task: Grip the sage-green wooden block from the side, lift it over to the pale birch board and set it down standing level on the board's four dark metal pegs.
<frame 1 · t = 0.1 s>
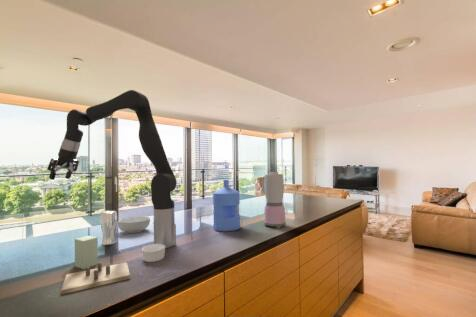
hand: (59, 178, 119), 31 cm above the counter, tool tilted 20°, fingers open, 8 cm apart
peg board: (97, 278, 77), on the counter
ramekin: (153, 258, 93), on the counter
water jug: (226, 228, 137), on the counter
cereal bowl: (134, 231, 134), on the counter
green block: (86, 265, 88), on the counter
beer glass: (109, 243, 113), on the counter
blender: (273, 225, 141), on the counter
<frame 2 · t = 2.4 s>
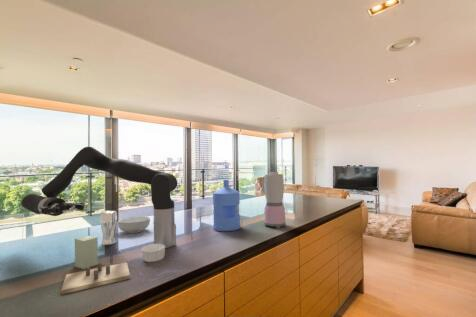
hand: (71, 209, 94), 20 cm above the counter, tool horizontal, fingers open, 8 cm apart
nothing on the counter moved.
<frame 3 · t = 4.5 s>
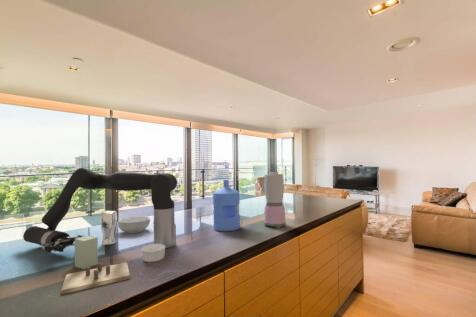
hand: (75, 245, 92), 6 cm above the counter, tool horizontal, fingers open, 8 cm apart
nothing on the counter moved.
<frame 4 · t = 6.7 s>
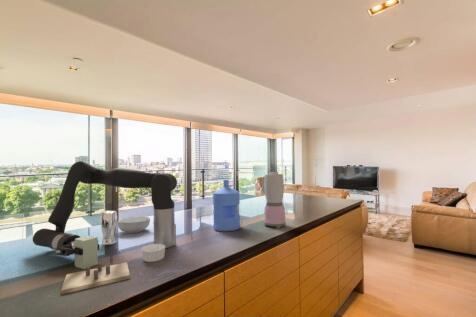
hand: (90, 249, 87), 6 cm above the counter, tool horizontal, fingers closed on green block, 5 cm apart
green block: (86, 265, 88), on the counter, touching gripper
everything else where it was.
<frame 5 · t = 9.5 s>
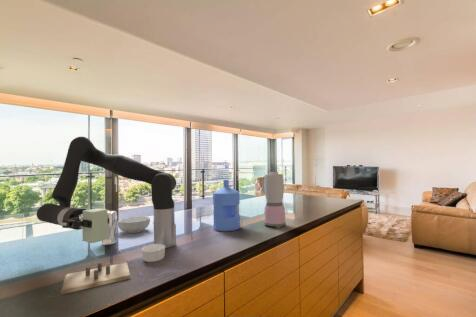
hand: (99, 222, 78), 18 cm above the counter, tool horizontal, fingers closed on green block, 5 cm apart
green block: (95, 239, 79), point 12 cm above the counter, touching gripper
everything else where it was.
when the fingers open (11 cm above the counter, at t = 11.9 s): green block drops 1 cm, resting on peg board.
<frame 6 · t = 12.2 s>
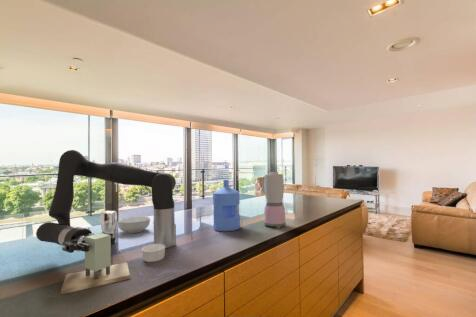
hand: (101, 244, 76), 11 cm above the counter, tool horizontal, fingers open, 8 cm apart
green block: (97, 266, 77), point 4 cm above the counter, touching peg board
everything else where it was.
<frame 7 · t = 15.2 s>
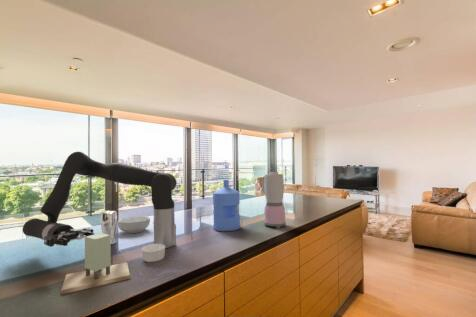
hand: (80, 239, 83), 11 cm above the counter, tool horizontal, fingers open, 8 cm apart
nothing on the counter moved.
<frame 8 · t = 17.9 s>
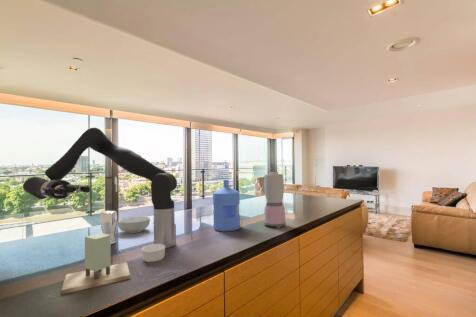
hand: (76, 190, 88), 28 cm above the counter, tool horizontal, fingers open, 8 cm apart
nothing on the counter moved.
at the end: green block 0.0 cm off-centre on the peg board, point 3.7 cm above the peg board's base; green block tilted 0°; the gripper is holding nothing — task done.
